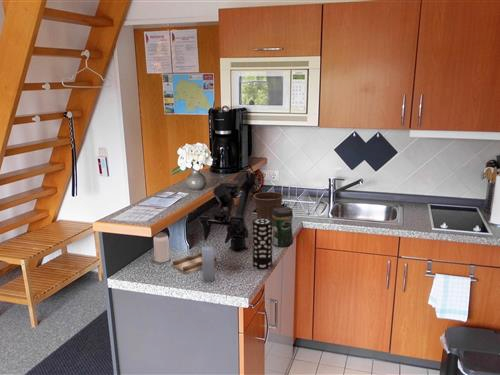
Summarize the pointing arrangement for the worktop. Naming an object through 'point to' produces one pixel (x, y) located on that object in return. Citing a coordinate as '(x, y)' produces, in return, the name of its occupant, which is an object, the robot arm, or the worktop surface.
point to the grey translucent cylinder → (208, 263)
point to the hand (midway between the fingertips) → (215, 241)
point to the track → (190, 263)
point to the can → (161, 247)
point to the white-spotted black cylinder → (262, 243)
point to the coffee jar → (282, 226)
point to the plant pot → (267, 204)
